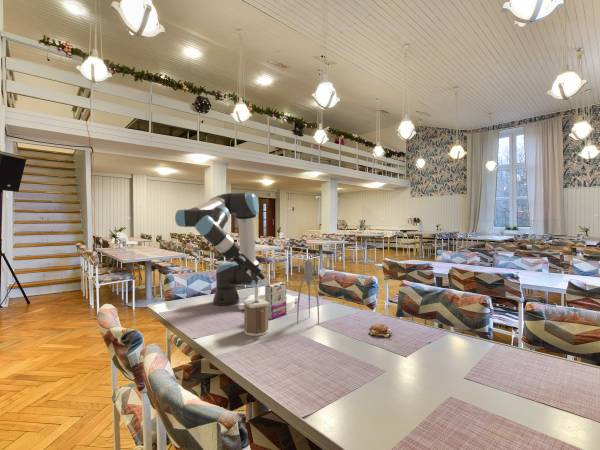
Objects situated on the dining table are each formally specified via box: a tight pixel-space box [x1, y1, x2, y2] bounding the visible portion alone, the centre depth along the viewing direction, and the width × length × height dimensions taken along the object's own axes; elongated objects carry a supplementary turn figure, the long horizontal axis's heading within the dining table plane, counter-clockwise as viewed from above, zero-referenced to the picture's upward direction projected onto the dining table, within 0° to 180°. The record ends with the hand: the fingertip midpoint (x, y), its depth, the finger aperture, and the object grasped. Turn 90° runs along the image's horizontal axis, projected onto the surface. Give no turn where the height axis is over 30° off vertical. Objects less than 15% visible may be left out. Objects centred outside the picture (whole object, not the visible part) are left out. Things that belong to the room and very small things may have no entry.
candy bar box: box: [264, 281, 287, 320], centre depth 157 cm, size 11×5×16 cm, turn 142°
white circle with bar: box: [237, 292, 298, 312], centre depth 176 cm, size 28×28×5 cm
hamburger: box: [368, 323, 393, 339], centre depth 132 cm, size 14×14×6 cm
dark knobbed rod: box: [251, 269, 263, 303], centre depth 135 cm, size 5×5×18 cm
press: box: [242, 299, 270, 337], centre depth 134 cm, size 13×10×13 cm
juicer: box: [296, 258, 320, 324], centre depth 151 cm, size 10×9×30 cm
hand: (262, 281), depth 136 cm, fingers open, 10 cm apart
